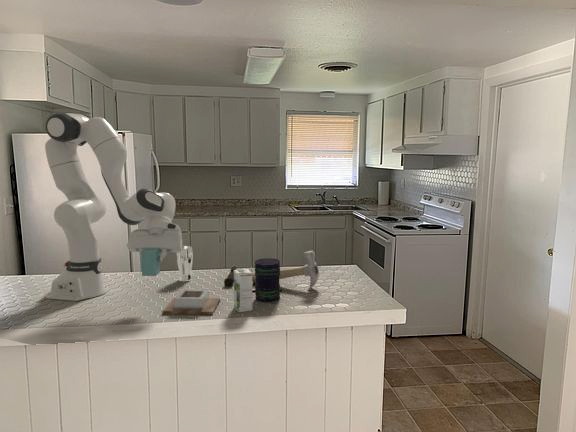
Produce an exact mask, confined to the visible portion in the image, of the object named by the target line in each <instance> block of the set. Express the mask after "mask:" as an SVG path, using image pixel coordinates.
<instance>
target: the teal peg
mask: <svg viewBox="0 0 576 432" xmlns="http://www.w3.org/2000/svg"><path fill="white" fill-rule="evenodd" d="M140 256H141V261H140V263H141V276H142V277H157V276H158V274H160V272H161V267H160V266H161V265H160V262H158V261H157V258H158V256H160V252H159V249H144V250H143V251H141V255H140Z"/></svg>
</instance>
